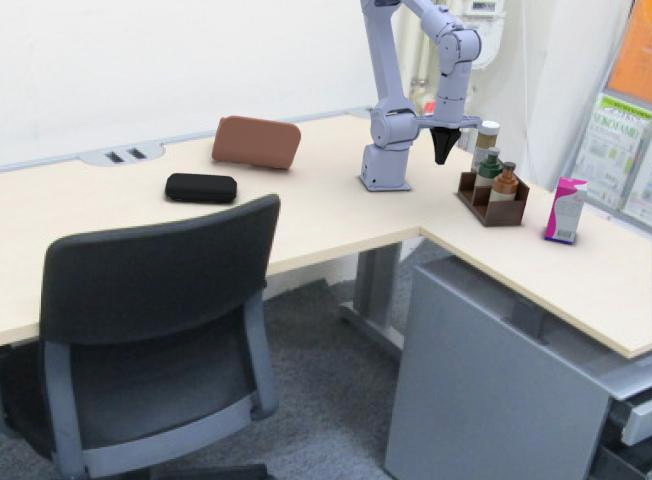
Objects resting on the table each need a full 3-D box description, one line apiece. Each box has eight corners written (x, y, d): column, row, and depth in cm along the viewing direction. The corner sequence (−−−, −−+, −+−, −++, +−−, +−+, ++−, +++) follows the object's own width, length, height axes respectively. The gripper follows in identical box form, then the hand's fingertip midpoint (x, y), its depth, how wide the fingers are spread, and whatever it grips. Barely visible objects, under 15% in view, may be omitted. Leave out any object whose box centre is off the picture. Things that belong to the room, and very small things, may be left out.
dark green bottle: (477, 201, 190) (488, 153, 183) (468, 191, 194) (478, 144, 187) (499, 200, 191) (510, 153, 184) (490, 191, 195) (500, 144, 188)
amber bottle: (492, 217, 183) (503, 168, 177) (482, 207, 187) (493, 159, 181) (514, 216, 185) (526, 168, 178) (505, 206, 188) (516, 159, 182)
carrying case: (237, 185, 191) (168, 181, 190) (237, 171, 189) (168, 167, 188) (236, 206, 182) (164, 202, 181) (236, 192, 180) (163, 188, 179)
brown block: (281, 191, 199) (304, 129, 190) (207, 167, 196) (227, 103, 187) (283, 164, 212) (304, 104, 203) (213, 140, 209) (232, 79, 200)
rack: (485, 226, 183) (493, 188, 178) (456, 194, 195) (464, 158, 190) (520, 225, 184) (530, 188, 179) (490, 193, 197) (498, 157, 192)
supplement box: (574, 233, 183) (589, 180, 176) (572, 245, 178) (587, 191, 172) (546, 227, 184) (560, 175, 177) (543, 239, 180) (557, 185, 173)
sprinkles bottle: (491, 183, 202) (504, 124, 194) (479, 187, 199) (492, 128, 191) (475, 176, 204) (487, 118, 196) (463, 180, 202) (475, 122, 194)
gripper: (423, 102, 168) (412, 171, 176) (493, 102, 171) (480, 169, 179) (410, 90, 174) (401, 158, 182) (479, 90, 177) (467, 156, 185)
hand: (439, 163), depth 181 cm, fingers closed
